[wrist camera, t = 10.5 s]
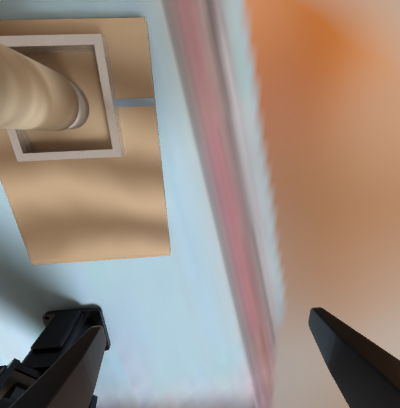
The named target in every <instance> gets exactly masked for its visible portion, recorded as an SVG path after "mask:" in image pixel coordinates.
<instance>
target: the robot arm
mask: <svg viewBox="0 0 400 408" xmlns="http://www.w3.org/2000/svg"><path fill="white" fill-rule="evenodd" d="M96 312H97V313H96ZM42 318H43V321H44V323H45V326H46V328H45V329H44V330H43V332H42V333H41V334H40V336H39V337H38V338H37V340H36V341H35V342H34V344H33V345H32V346H31V351H30V352H29V353H28V355H27V356H26V357H25V359H24V360H23V362H22V363H20V361H19V360H17V359H15V358H14V359H13V360H12V362H11V363H10V364H9V365H8V366H6V365H4V366H0V408H96V403H97V396H95V395H93V393H94V389H95V386H96V382H97V378H98V374H99V370H100V366H101V363H102V359H103V355H104V351H106V350H109V348H110V345H111V344H110V340H109V336H108V333H107V329H106V325H105V321H104V317H103V314H102V310H101V309H100V308H88V309H76V310H64V311H51V312H46V313H45V314H44V315H43V317H42ZM309 327H310V330H311V332H312V334H313V336H314V339H315V341H316V343H317V345H318V347H319V350H320V352H321V354H322V356H323V359H324V361H325V363H326V365H327V367H328V369H329V371H330V373H331V375H332V376H333V378H334V380H335V381H336V384H337V385H338V387H339V389H340V391H341V393H342V394H343V396H344V398H345V399H346V402H347V403H348V405H349V407H350V408H400V360H398V359H397V358H395V357H394V356H392V355H391V354H389V353H388V352H386V351H385V350H383V349H382V348H380V347H379V346H378V345H376V344H375V343H373V342H371V341H370V340H369V339H367V338H366V337H364V336H363V335H361V334H360V333H358V332H357V331H355V330H354V329H352V328H351V327H349V326H348V325H347V324H345V323H344V322H342V321H341V320H339V319H338V318H336V317H335V316H333V315H331V314H330V313H329V312H327V311H326V310H324V309H323V308H320V307H317V308H312V309H311V311H310V316H309Z"/></svg>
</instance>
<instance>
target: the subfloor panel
mask: <svg viewBox="0 0 400 408" xmlns="http://www.w3.org/2000/svg"><path fill="white" fill-rule="evenodd" d="M68 34H102V35H103V37H104V38H105V39H106V40H107V41H108V46H109V52H110V59H111V65H112V71H113V77H114V84H115V90H116V96H117V103H118V109H119V115H120V121H121V128H122V134H123V140H124V146H125V153H126V155H125V156H122V157H102V158H82V159H61V160H41V161H21V162H18V161H17V158H16V155H15V153H14V150H13V147H12V144H11V141H10V138H9V135H8V132H7V129H1V128H0V180H1V183H2V185H3V188H4V191H5V193H6V196H7V199H8V201H9V204H10V207H11V209H12V212H13V215H14V217H15V220H16V223H17V225H18V228H19V231H20V233H21V236H22V239H23V241H24V244H25V247H26V249H27V252H28V255H29V257H30V260H31V263H32V265H42V264H56V263H70V262H84V261H98V260H112V259H126V258H140V257H154V256H169V255H170V253H171V249H170V239H169V230H168V220H167V211H166V201H165V191H164V182H163V172H162V163H161V153H160V144H159V134H158V125H157V115H156V105H155V96H154V86H153V77H152V67H151V58H150V48H149V38H148V29H147V22H146V19H145V17H140V18H88V19H37V20H0V36H23V35H68ZM22 55H24V56H26V57H28V58H30V59H32V60H34V61H36V62H38V63H40V64H42V65H44V66H46V67H48V68H50V69H52V70H54V71H56V72H58V73H60V74H61V75H62V76H64V77H65V78H66V79H67V80H68V81H70V82H72V83H74V84H75V85H77V86H78V87H79V88H80V89H81V90H82V91H83V93H84V94H85V96H86V98H87V100H88V103H89V116H88V119H87V121H86V122H85V123H84V124H83V125H82V126H81V127H79V128H77V129H65V130H62V131H41V130H27V131H28V134H29V138H30V141H31V144H32V147H33V151H34V152H55V151H76V150H97V149H113V148H112V142H111V137H110V131H109V125H108V120H107V114H106V109H105V103H104V98H103V92H102V86H101V81H100V75H99V70H98V64H97V58H96V53H95V52H71V53H33V54H22Z"/></svg>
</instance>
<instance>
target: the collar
mask: <svg viewBox="0 0 400 408" xmlns="http://www.w3.org/2000/svg"><path fill="white" fill-rule="evenodd" d="M0 43H1V44H3V45H5V46H7V47H9V48H11V49H13V50H15V51H17V52H19V53H20V54H33V53H71V52H95V53H96V58H97V64H98V70H99V75H100V81H101V86H102V92H103V98H104V103H105V109H106V114H107V120H108V125H109V131H110V137H111V142H112V148H113V149H97V150H76V151H55V152H34V151H33V147H32V144H31V141H30V138H29V134H28V131H27V130H21V129H7V132H8V135H9V138H10V141H11V144H12V147H13V150H14V153H15V155H16V158H17V161H18V162H21V161H41V160H61V159H82V158H102V157H122V156H125V155H126V153H125V146H124V140H123V134H122V128H121V121H120V115H119V109H118V103H117V96H116V90H115V84H114V77H113V71H112V65H111V59H110V52H109V46H108V41H107V40H106V39H105V38H104V37H103V35H102V34H68V35H23V36H0Z"/></svg>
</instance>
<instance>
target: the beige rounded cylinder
mask: <svg viewBox="0 0 400 408" xmlns="http://www.w3.org/2000/svg"><path fill="white" fill-rule="evenodd" d="M88 116H89V103H88V100H87V98H86V96H85V94H84V93H83V91H82V90H81V89H80V88H79V87H78V86H77V85H75V84H74V83H72V82H70V81H68V80H67V79H66V78H65V77H64V76H62V75H61V74H60V73H58V72H56V71H54V70H52V69H50V68H48V67H46V66H44V65H42V64H40V63H38V62H36V61H34V60H32V59H30V58H28V57H26V56H24V55H22V54H20V53H19V52H17V51H15V50H13V49H11V48H9V47H7V46H5V45H3V44H1V43H0V128H1V129H21V130H41V131H62V130H65V129H77V128H79V127H81V126H82V125H83V124H84V123H85V122H86V121H87V119H88Z"/></svg>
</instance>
